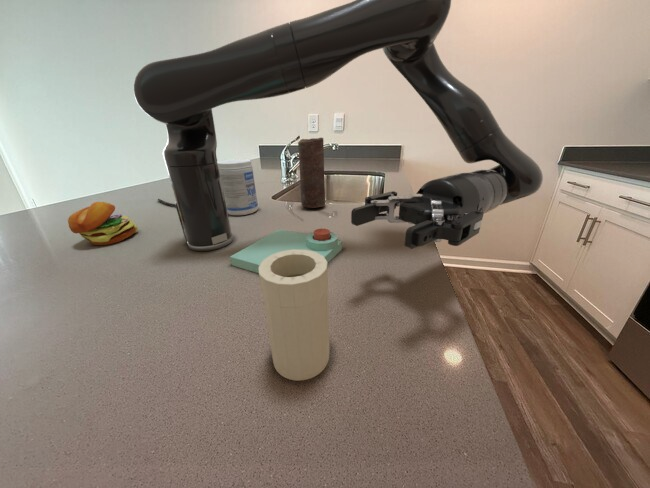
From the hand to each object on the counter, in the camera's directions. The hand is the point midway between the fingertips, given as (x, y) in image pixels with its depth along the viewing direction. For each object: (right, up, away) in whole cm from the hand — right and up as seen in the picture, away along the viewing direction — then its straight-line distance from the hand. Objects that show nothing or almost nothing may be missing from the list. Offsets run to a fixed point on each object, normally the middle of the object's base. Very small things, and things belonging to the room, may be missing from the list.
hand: (377, 227), depth 30 cm
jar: (-9, -15, 0) cm, 17 cm away
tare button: (-7, -1, +21) cm, 22 cm away
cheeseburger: (-57, -1, +32) cm, 65 cm away
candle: (-10, +9, +50) cm, 52 cm away
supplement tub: (-31, +8, +49) cm, 58 cm away
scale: (-13, -4, +21) cm, 25 cm away
